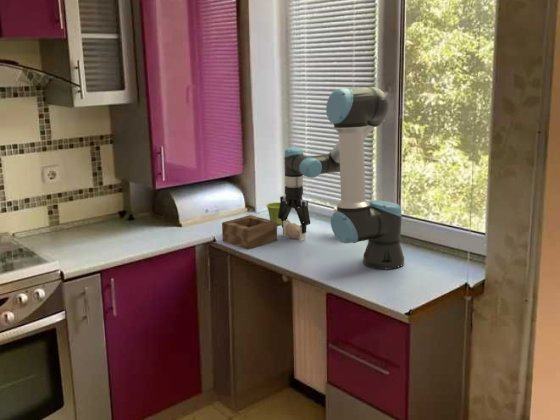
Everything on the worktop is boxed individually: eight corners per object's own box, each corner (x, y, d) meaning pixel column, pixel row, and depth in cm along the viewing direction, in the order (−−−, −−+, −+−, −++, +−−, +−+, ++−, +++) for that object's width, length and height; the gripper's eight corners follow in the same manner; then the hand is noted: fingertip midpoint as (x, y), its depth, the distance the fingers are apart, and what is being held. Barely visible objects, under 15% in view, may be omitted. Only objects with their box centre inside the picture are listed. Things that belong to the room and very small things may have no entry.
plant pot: (280, 227, 286) (280, 208, 284) (262, 224, 291) (262, 205, 288) (291, 222, 294) (291, 204, 291) (273, 219, 298) (273, 201, 296)
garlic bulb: (294, 235, 275) (294, 217, 273) (305, 238, 270) (305, 220, 268) (283, 238, 271) (282, 220, 269) (293, 241, 266) (293, 223, 264)
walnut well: (277, 240, 268) (276, 222, 266) (248, 249, 257) (248, 230, 255) (250, 232, 279) (250, 214, 276) (222, 241, 268) (221, 222, 265)
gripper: (319, 188, 260) (319, 241, 266) (281, 180, 274) (281, 230, 280) (307, 191, 255) (307, 245, 260) (268, 182, 269) (269, 234, 275)
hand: (293, 237), depth 270 cm, fingers open, 9 cm apart
